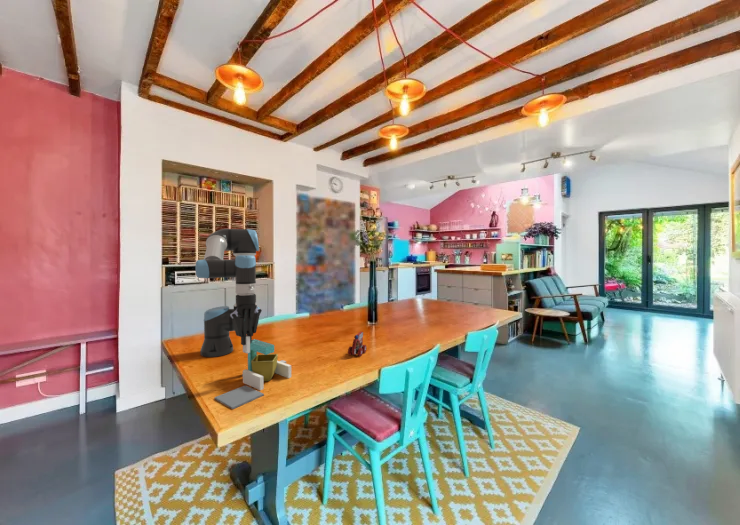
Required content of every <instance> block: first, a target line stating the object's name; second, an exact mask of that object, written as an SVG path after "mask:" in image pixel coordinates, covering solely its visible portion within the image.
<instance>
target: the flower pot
mask: <svg viewBox="0 0 740 525" xmlns="http://www.w3.org/2000/svg"><path fill="white" fill-rule="evenodd" d="M278 357H279V355H278V353H270V354H267V355H265V354H262V353H260V354H259V353H258V354H257V355H256V357H255V358H254V359H253V360H252V361H251V364H252V371H253V372H254V373H257V374H259V375H262V376H263V380H264V382H269V381H271V380H272V378H273V376H274V375H275V373H274V372H275V370H276V366H277V361H278Z"/></svg>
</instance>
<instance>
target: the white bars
mask: <svg viewBox="0 0 740 525" xmlns="http://www.w3.org/2000/svg"><path fill="white" fill-rule="evenodd" d="M274 374H276V375H278V376H281V377H284V378H286V379H290V378H292V365H291V364H289V363H287V361H286V360H285V359H283V360H277V366H276V370H275V372H274ZM241 376H242V383H243V384H244V385H246V386H248V387H250V388H253V389H255V390H256V389H257V391H262V390H264V387H265V386H264V382H265V381H264V380H263V376H262V375H259V374H257V373H254V372H252V371H249V370H248V368H247V369H246V368H245V369H243V370H242V374H241Z"/></svg>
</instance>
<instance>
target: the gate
mask: <svg viewBox="0 0 740 525" xmlns="http://www.w3.org/2000/svg"><path fill="white" fill-rule="evenodd" d="M259 353H260V354H265V355H267V354H274V353H275V344H272V343H269V342H266V341H262V340H259V339H255V338H254V339H252V342H251V343H250V353H247V370H249V371H252V364H251V361H252V360H253V359H254V358H255V357H256V355H258V354H259ZM252 372H253V371H252Z"/></svg>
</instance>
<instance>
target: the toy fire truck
mask: <svg viewBox="0 0 740 525" xmlns="http://www.w3.org/2000/svg"><path fill="white" fill-rule="evenodd" d="M363 337H364V332H363V331H359V332H358V333H357V334H355V335H354V339H353V341H352V345H351V346H349V347H348V349H347V353H348V355H350V356H351V355H353V356H355V355H357V356H359V357H362V356H363V354H366V352H367V345H366V344H363V343H364V342H363V340H364V338H363Z"/></svg>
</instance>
